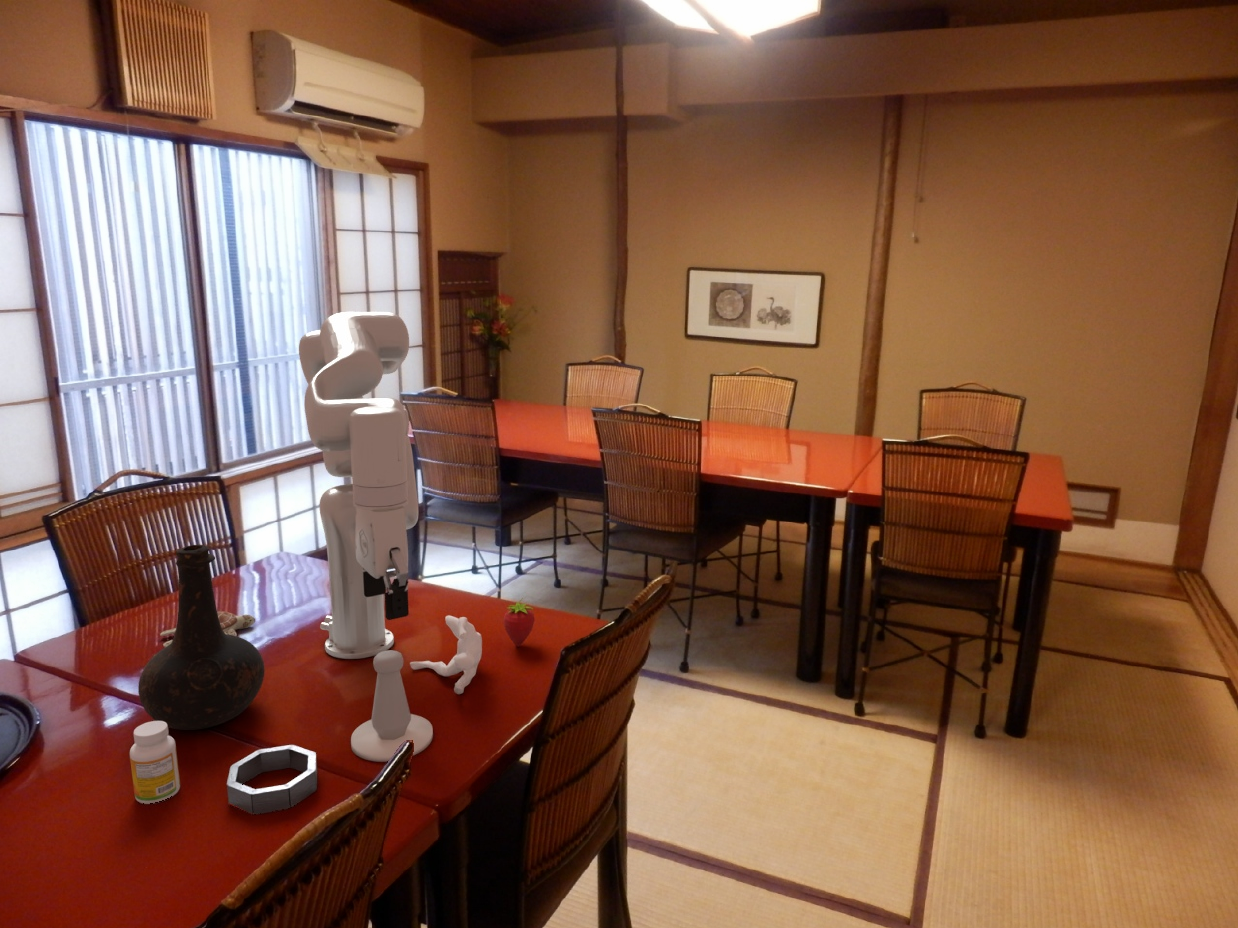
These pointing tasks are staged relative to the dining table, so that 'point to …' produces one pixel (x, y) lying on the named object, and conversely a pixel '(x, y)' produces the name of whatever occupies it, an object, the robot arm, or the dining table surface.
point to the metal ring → (275, 795)
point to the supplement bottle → (154, 763)
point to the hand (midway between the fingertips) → (385, 605)
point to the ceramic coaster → (382, 750)
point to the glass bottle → (200, 658)
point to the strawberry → (518, 622)
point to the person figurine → (459, 653)
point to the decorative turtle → (224, 624)
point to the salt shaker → (390, 697)
